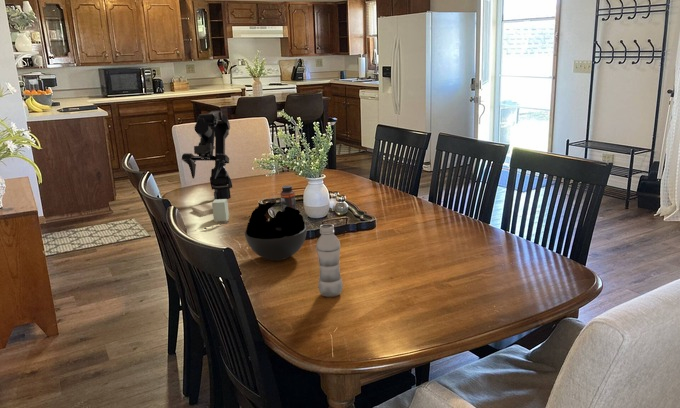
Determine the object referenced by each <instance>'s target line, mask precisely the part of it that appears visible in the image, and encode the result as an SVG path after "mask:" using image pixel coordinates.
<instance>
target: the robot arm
mask: <svg viewBox="0 0 680 408" xmlns="http://www.w3.org/2000/svg"><path fill="white" fill-rule="evenodd" d="M193 128H194V131H195V133H196V134H197V135H198V137H199V138H200V139H199V140H200V142H198V145H194V146H193V152H194V154H195V155H194V154H193V153H192V152H191V153H188V152H187V153H182V155H181V160H182V161H183V162H184V163H185V164H187V165H188V166H189V170H190V174H191V179H195V175H196V168H197V164H196V162H197V161H203V162H204V161H208V162H209V161H210V162H211V161H214V168H212V169H211V170H210V173H211V174H210V177H209V183H210V187H211V188H210V189H211V190H214V191H213V198H214V200H216V199H227V200H229V199H231V197H232V196H231V191H230V190H231V189H232V188H233V182H232V179H231V177H230V175H229V172H228V171H227V169H226V165H227V164H230V157H229V156H228V155H227V154H226V139H227V138H228V136H229V133H230V132H229V131H230V129H231V123H230V120H229V118H228V117H227V116H226V115H225V114H223V112H222V110H211V111H210V112H209V113H200V114H199V115H198V116H197V119H196V122H195V125H194V127H193ZM214 150H215V151H214ZM214 154H215V155H214Z"/></svg>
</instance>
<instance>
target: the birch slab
mask: <svg viewBox="0 0 680 408" xmlns="http://www.w3.org/2000/svg"><path fill="white" fill-rule="evenodd" d="M212 202H213V201H211V202H207V203H203V204H199V205H194V206H191V209H192V211H193V212H192V213H194V212H195V213H194V214H196V213H198V214H200V215H199V216H201V215H202V216H201V217H205V216H204V215H206V216H209V215H208V214H210V215H213V214H212V213H213V208H212ZM198 214H197V215H198Z"/></svg>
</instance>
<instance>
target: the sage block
mask: <svg viewBox="0 0 680 408" xmlns="http://www.w3.org/2000/svg"><path fill="white" fill-rule="evenodd" d="M211 202H212V208H213V214H212V215H213V222H215V223H216V222H219V223H218V225H227V224H228V223H229V218H230V212H229V204H228V199H216V200H215V199H214V200H213V201H211Z"/></svg>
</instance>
